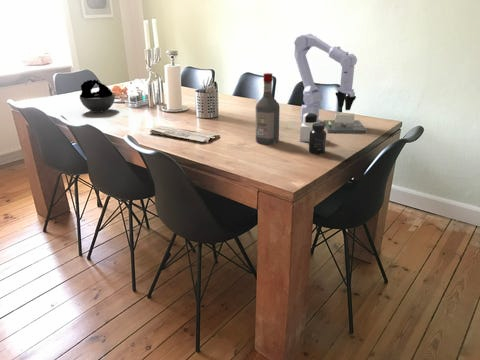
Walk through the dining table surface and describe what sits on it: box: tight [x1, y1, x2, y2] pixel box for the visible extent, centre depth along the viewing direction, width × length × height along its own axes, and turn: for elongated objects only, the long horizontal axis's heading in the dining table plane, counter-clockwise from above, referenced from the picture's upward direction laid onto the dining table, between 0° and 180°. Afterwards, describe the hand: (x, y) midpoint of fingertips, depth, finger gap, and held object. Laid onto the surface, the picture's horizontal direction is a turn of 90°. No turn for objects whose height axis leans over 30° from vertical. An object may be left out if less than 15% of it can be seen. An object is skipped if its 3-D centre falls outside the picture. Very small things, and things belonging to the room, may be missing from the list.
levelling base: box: [323, 119, 367, 134], centre depth 196 cm, size 18×18×3 cm
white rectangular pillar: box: [334, 112, 355, 125], centre depth 195 cm, size 3×9×6 cm, turn 80°
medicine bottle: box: [299, 113, 317, 143], centre depth 177 cm, size 7×7×12 cm
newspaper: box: [147, 125, 221, 144], centre depth 188 cm, size 35×12×4 cm, turn 61°
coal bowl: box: [79, 79, 116, 113], centre depth 233 cm, size 20×20×19 cm
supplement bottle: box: [308, 122, 327, 155], centre depth 162 cm, size 7×7×12 cm
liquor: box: [255, 72, 280, 145], centre depth 172 cm, size 9×9×30 cm
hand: (344, 108), depth 195 cm, fingers open, 7 cm apart
